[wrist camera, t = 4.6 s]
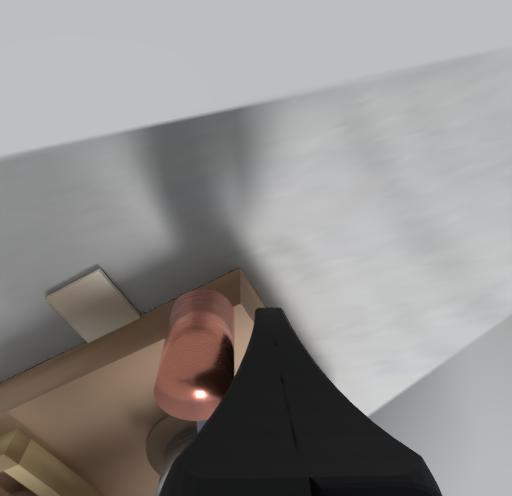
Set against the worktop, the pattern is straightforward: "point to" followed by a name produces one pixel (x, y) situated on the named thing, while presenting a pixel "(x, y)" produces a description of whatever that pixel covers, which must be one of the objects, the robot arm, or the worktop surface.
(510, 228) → the worktop surface
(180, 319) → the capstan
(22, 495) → the level ball
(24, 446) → the stand
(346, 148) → the worktop surface
